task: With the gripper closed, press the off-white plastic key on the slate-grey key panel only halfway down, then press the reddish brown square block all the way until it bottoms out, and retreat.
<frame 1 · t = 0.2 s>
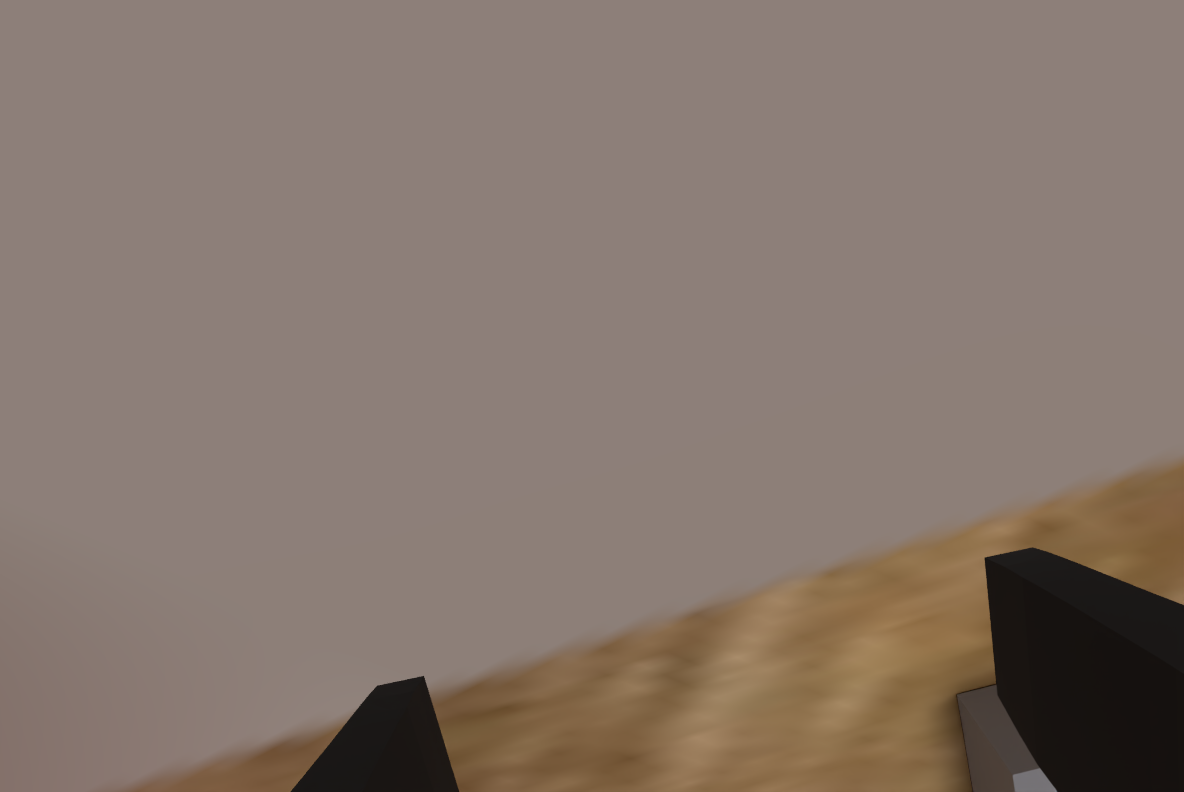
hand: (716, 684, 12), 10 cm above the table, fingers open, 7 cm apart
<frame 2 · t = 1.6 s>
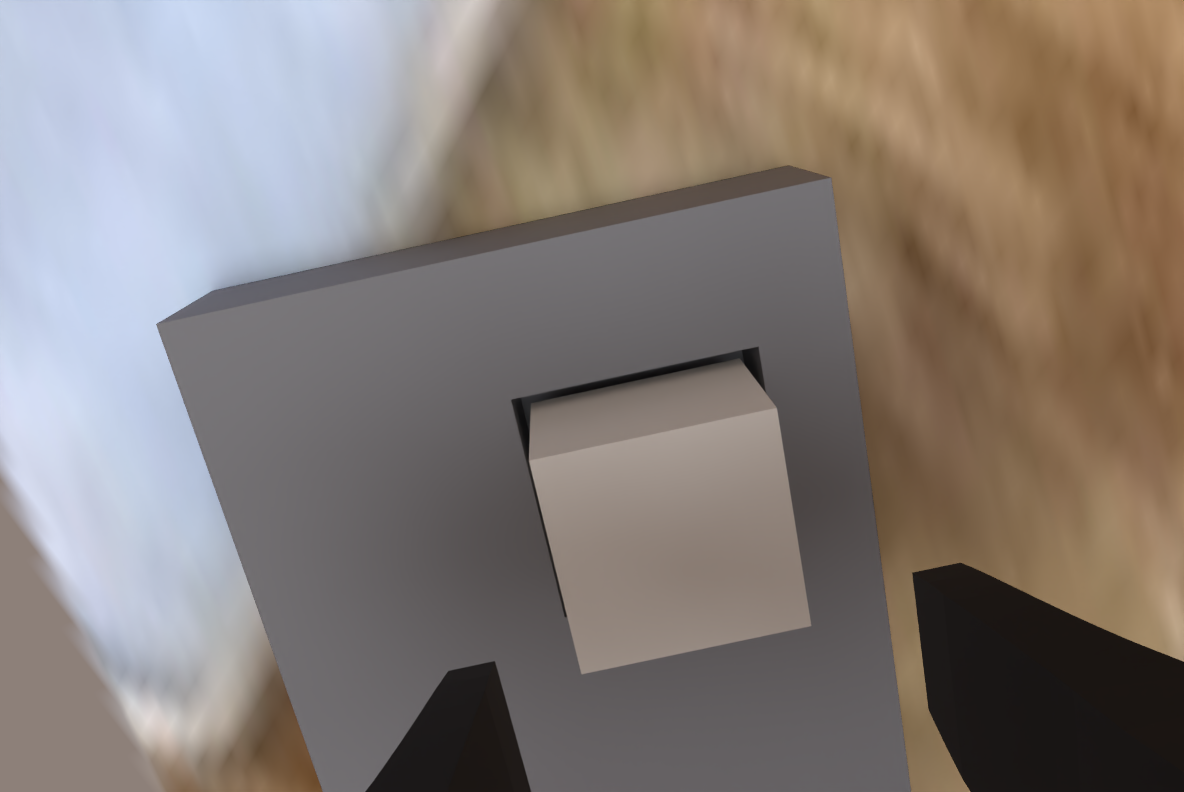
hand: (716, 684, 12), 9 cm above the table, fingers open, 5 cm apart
key panel: (598, 648, 23), on the table
white key: (664, 509, 17), point 4 cm above the table, slide at 0.0 cm
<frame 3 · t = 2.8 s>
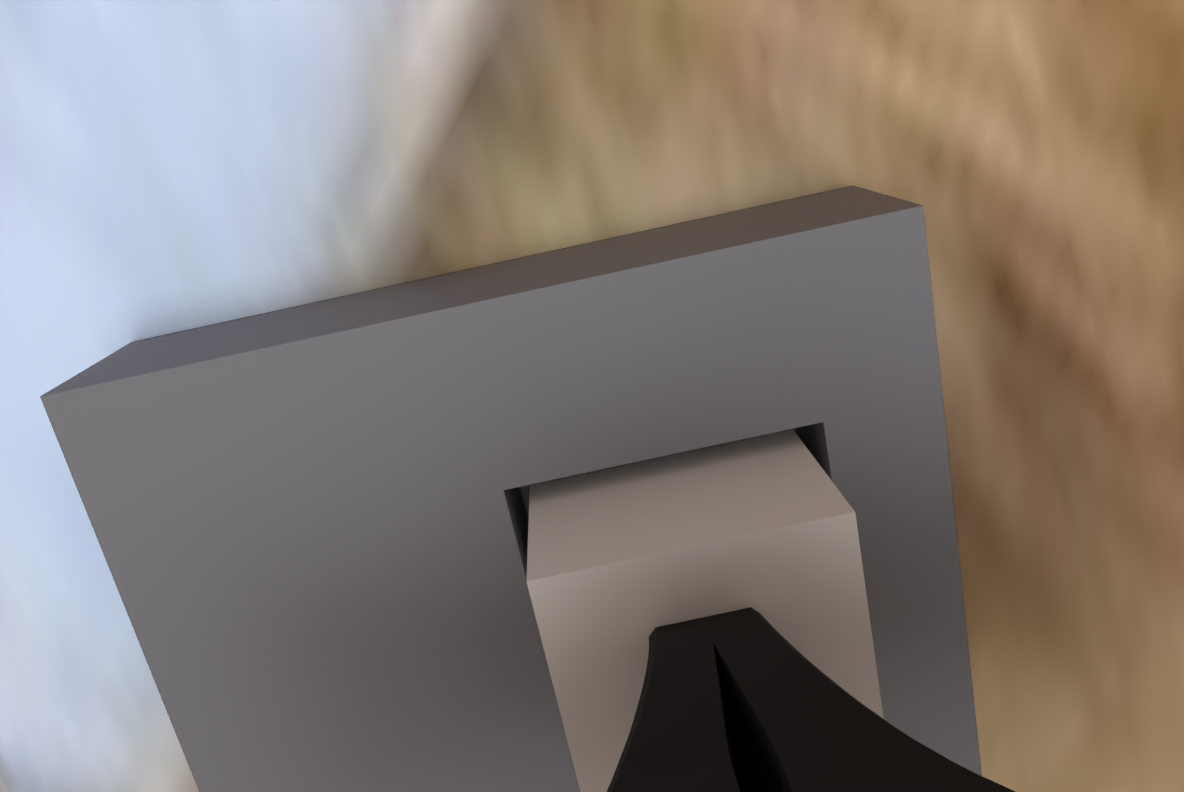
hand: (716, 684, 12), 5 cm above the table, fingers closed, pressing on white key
key panel: (612, 767, 19), on the table
white key: (699, 625, 14), point 4 cm above the table, slide at 0.2 cm, touching gripper
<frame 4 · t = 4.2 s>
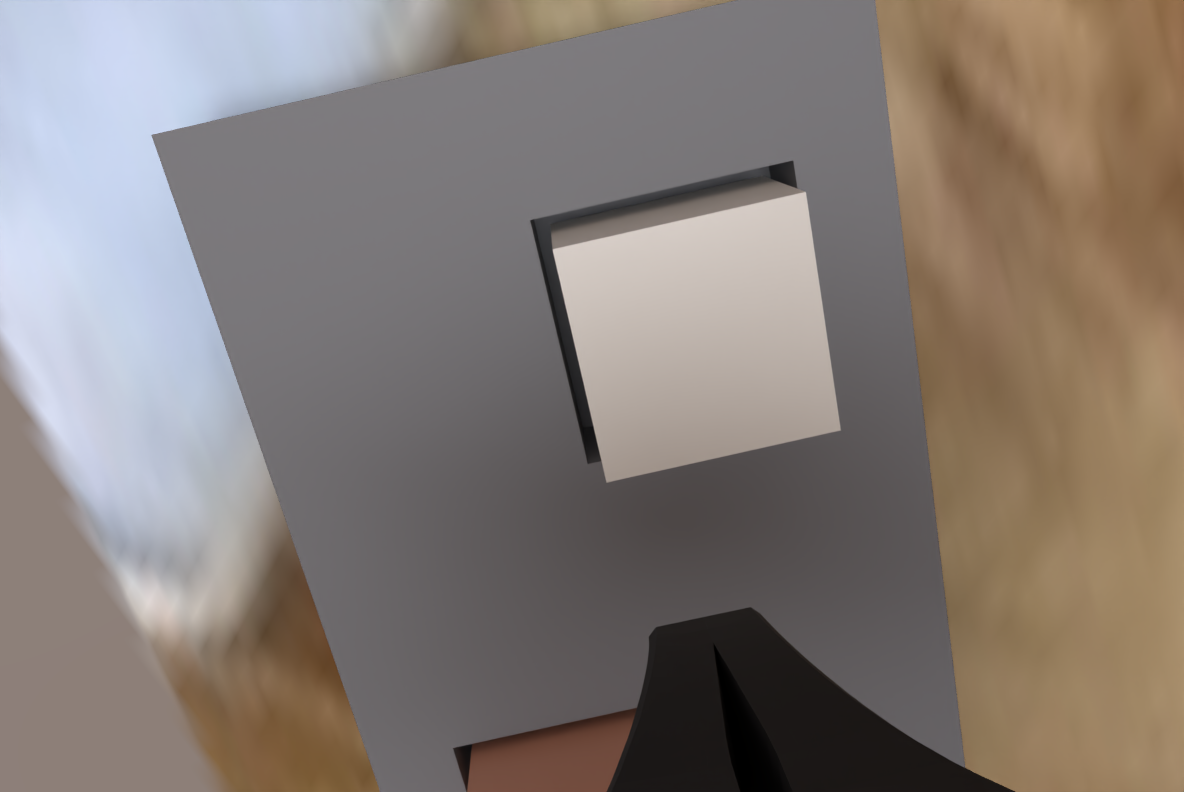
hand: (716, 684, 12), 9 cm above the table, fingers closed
key panel: (620, 521, 22), on the table
white key: (688, 322, 17), point 3 cm above the table, slide at 0.7 cm
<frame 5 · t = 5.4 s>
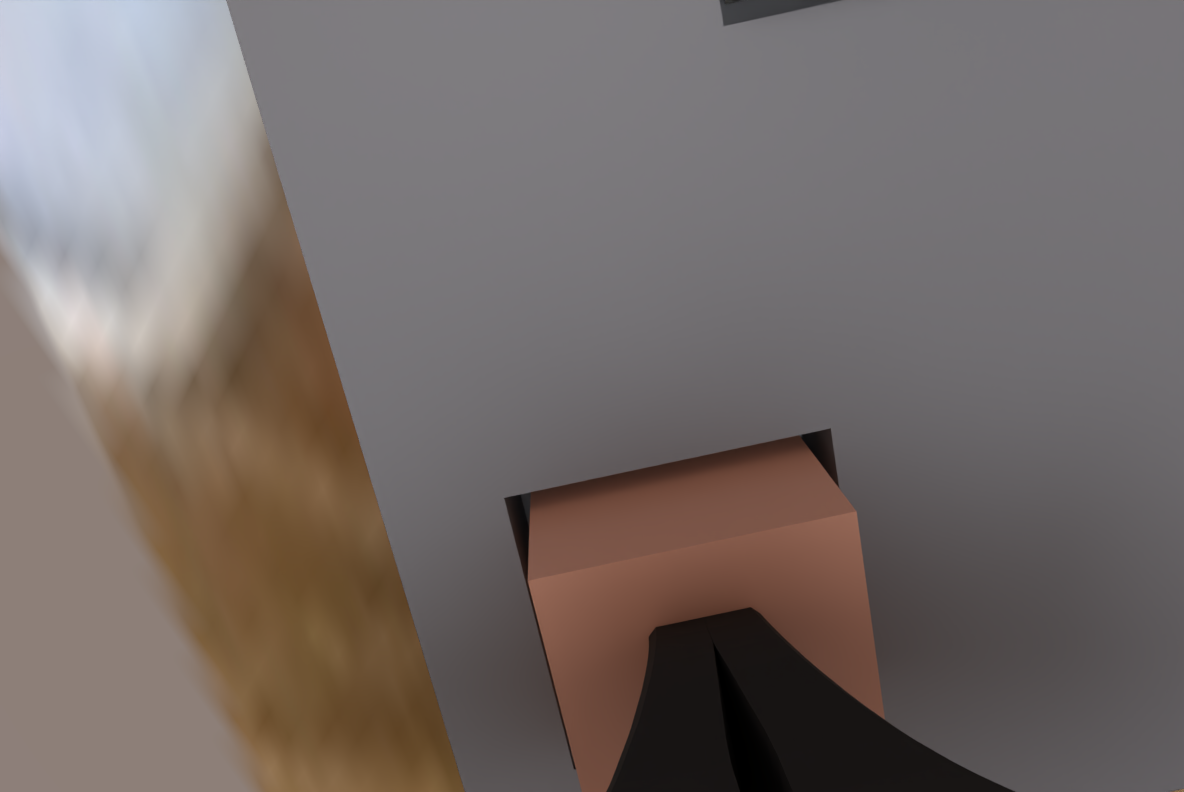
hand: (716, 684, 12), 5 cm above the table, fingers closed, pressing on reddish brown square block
key panel: (736, 213, 15), on the table
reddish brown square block: (700, 624, 14), point 3 cm above the table, slide at 0.5 cm, touching gripper
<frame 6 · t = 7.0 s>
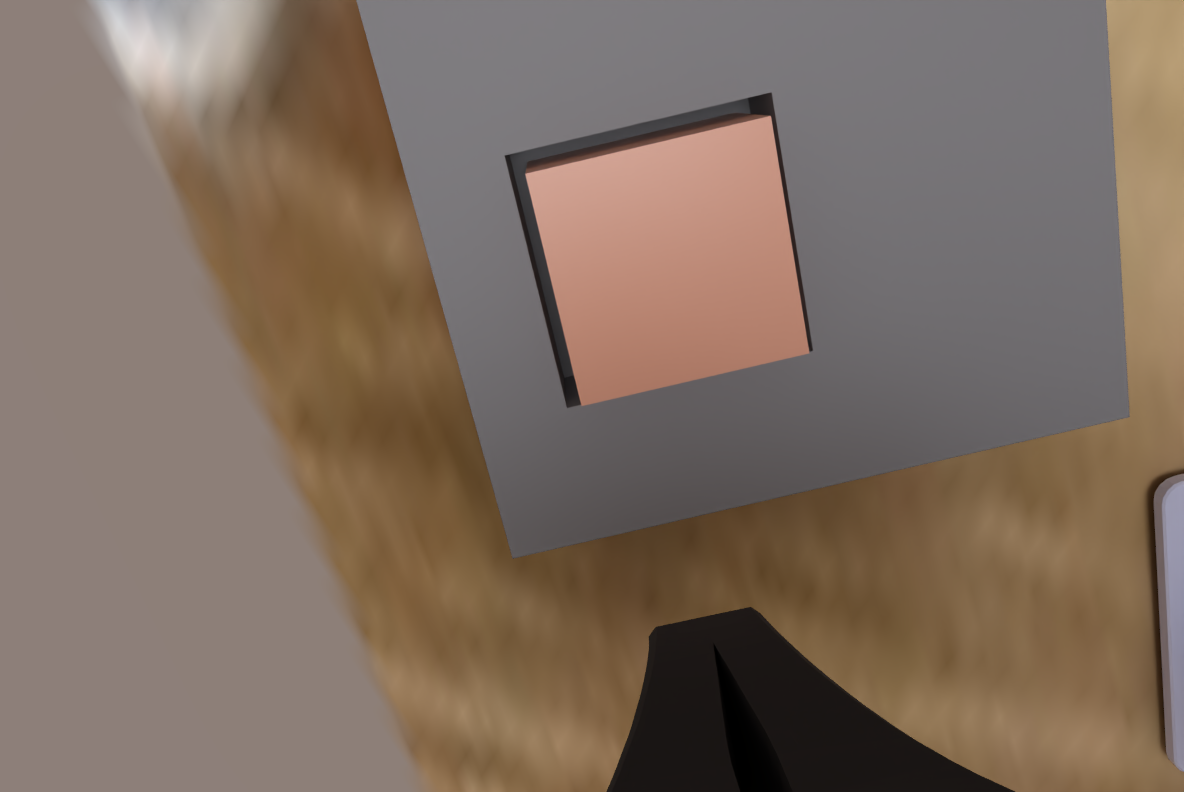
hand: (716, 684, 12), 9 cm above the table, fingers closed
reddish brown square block: (661, 252, 17), point 3 cm above the table, slide at 1.5 cm
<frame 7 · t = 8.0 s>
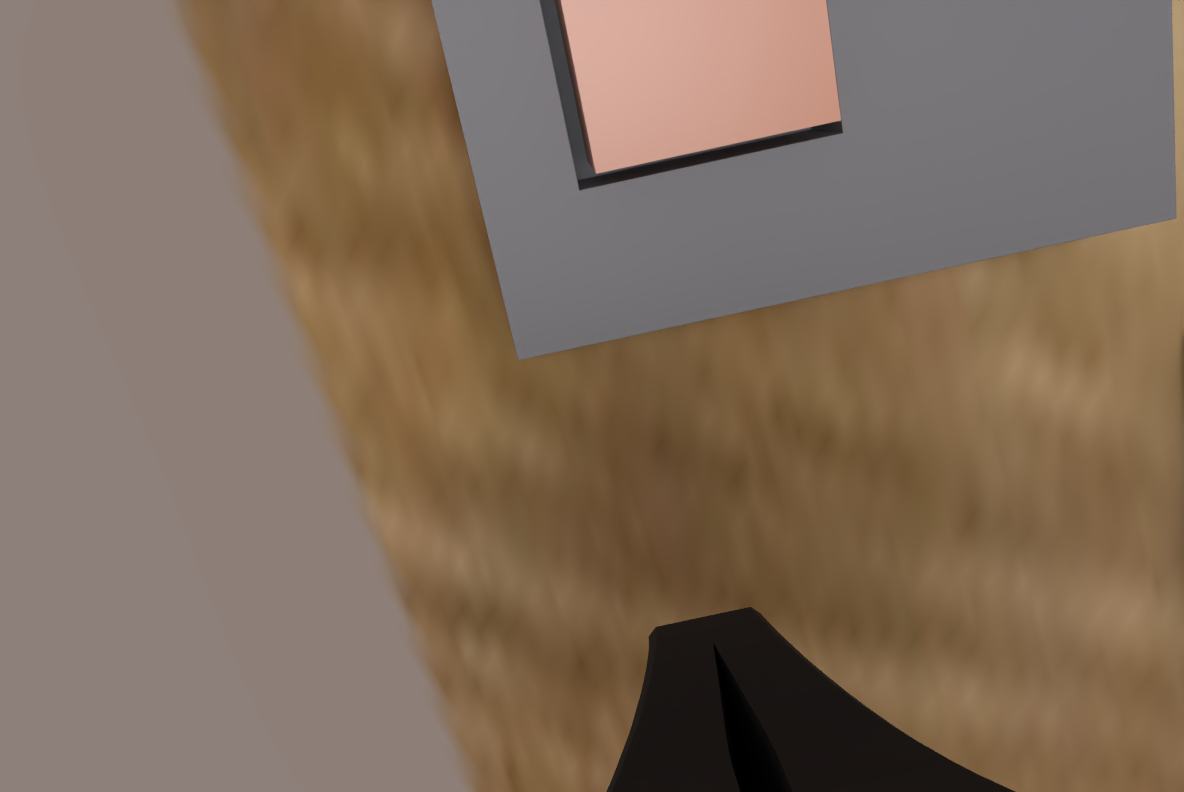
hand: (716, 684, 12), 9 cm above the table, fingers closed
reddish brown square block: (683, 22, 16), point 3 cm above the table, slide at 1.5 cm
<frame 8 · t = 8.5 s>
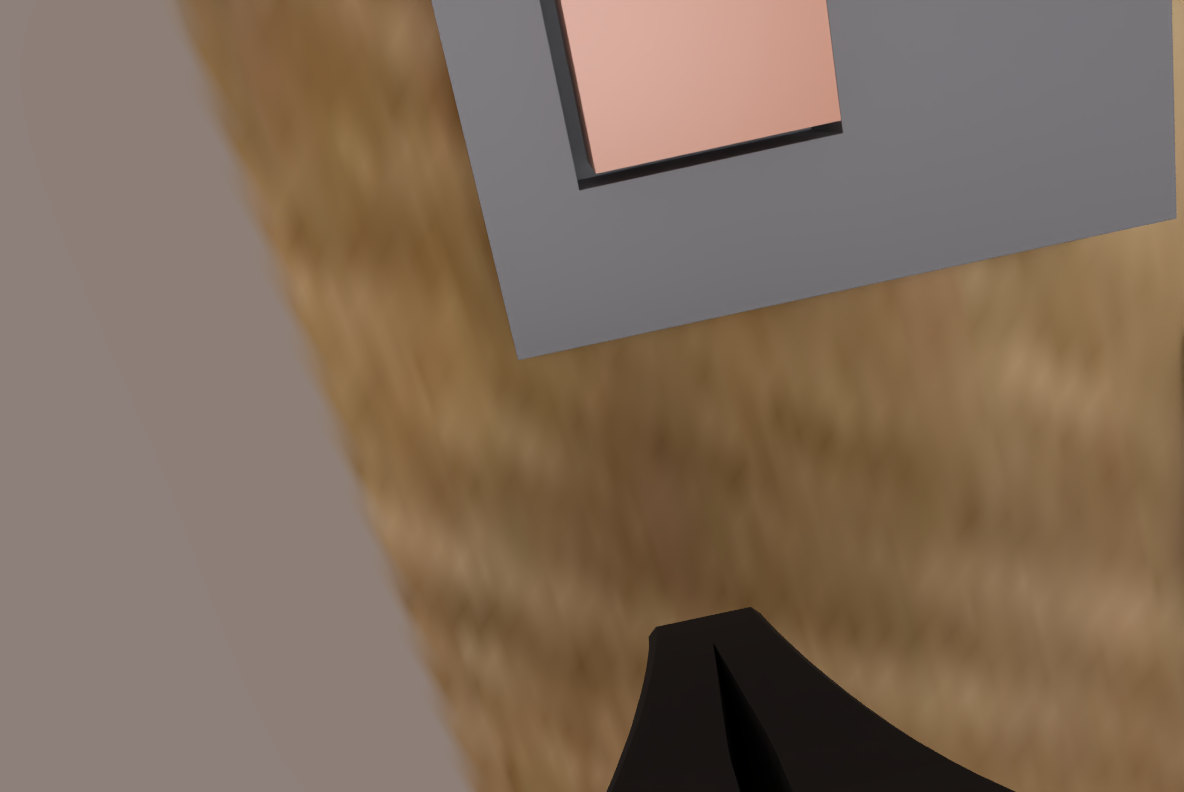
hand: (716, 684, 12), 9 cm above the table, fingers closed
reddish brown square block: (683, 22, 16), point 3 cm above the table, slide at 1.5 cm
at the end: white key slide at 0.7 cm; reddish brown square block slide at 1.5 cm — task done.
